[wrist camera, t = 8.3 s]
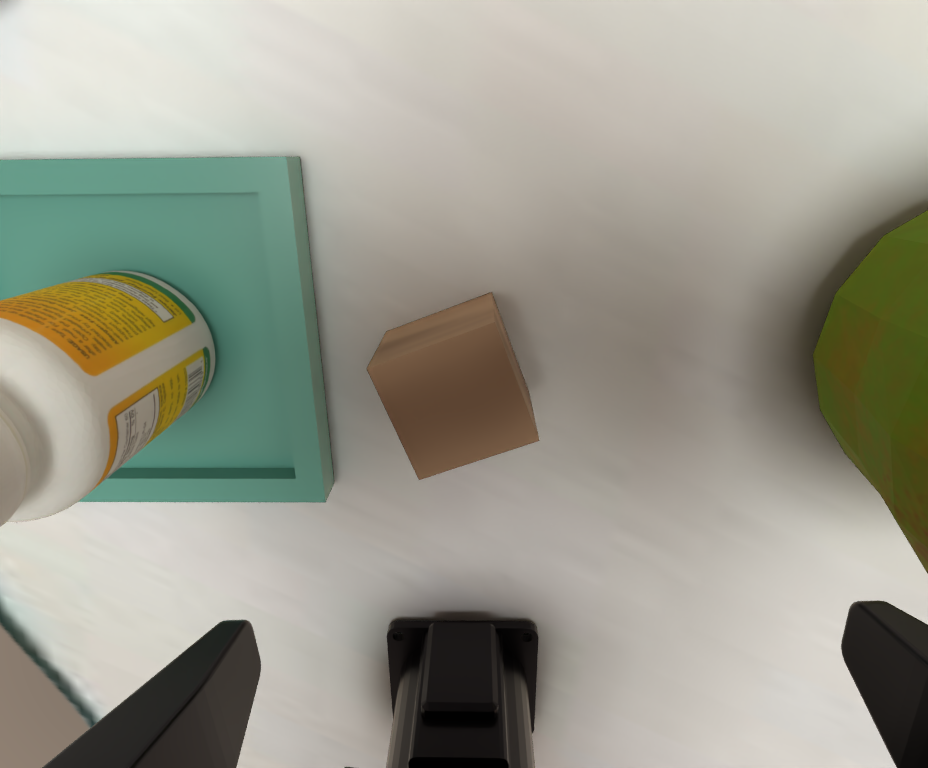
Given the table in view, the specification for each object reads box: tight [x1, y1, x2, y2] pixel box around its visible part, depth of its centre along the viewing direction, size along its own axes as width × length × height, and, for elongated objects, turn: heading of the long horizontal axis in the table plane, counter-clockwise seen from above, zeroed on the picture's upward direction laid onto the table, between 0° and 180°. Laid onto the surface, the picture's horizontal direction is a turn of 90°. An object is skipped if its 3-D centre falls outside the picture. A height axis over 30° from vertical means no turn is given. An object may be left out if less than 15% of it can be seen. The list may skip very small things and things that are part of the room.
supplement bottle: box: [0, 271, 215, 526], centre depth 16 cm, size 5×5×10 cm
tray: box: [0, 157, 334, 502], centre depth 20 cm, size 12×12×1 cm
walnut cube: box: [367, 292, 539, 480], centre depth 19 cm, size 4×4×4 cm
